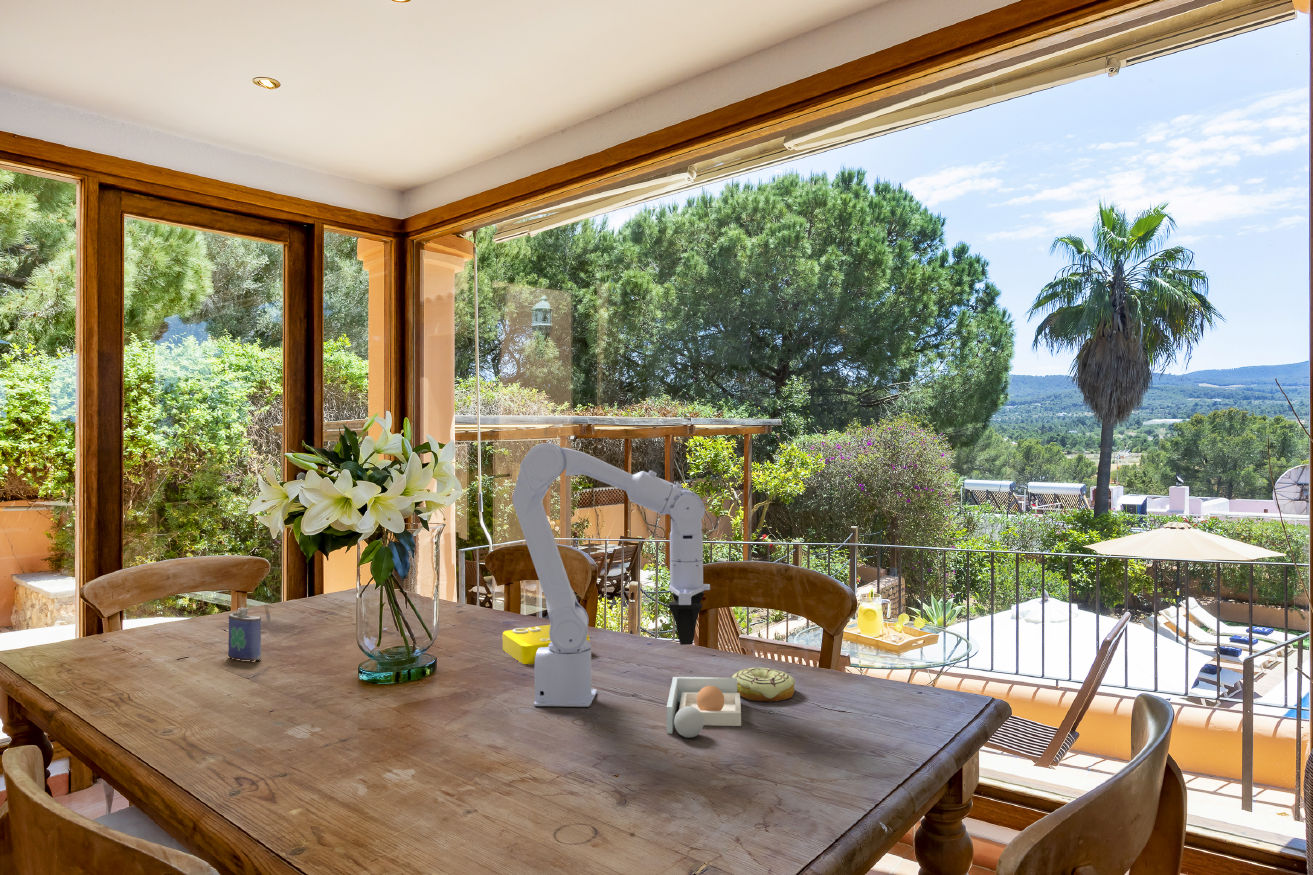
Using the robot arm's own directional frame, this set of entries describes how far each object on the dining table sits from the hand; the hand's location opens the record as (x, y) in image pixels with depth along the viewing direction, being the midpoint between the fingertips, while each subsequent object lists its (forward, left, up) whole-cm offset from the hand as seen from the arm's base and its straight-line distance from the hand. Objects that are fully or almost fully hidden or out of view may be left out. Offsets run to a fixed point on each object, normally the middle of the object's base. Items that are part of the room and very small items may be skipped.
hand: (687, 638), depth 134 cm
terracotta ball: (+4, -9, -9) cm, 13 cm away
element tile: (-31, +27, -11) cm, 42 cm away
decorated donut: (+13, +2, -10) cm, 17 cm away
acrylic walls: (+3, -10, -10) cm, 14 cm away
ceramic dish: (+4, -9, -10) cm, 14 cm away
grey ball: (+1, -19, -10) cm, 21 cm away
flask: (-93, +19, -10) cm, 95 cm away
